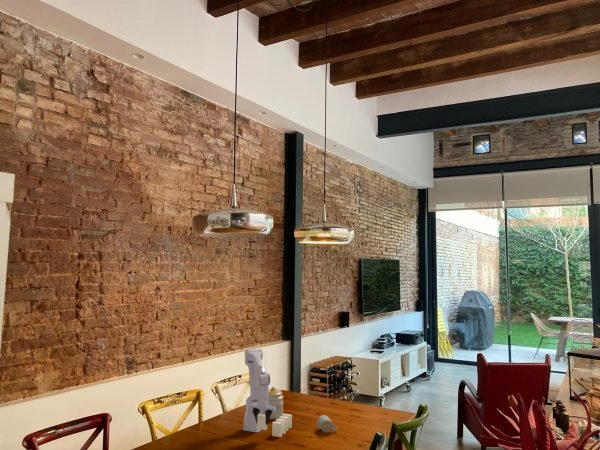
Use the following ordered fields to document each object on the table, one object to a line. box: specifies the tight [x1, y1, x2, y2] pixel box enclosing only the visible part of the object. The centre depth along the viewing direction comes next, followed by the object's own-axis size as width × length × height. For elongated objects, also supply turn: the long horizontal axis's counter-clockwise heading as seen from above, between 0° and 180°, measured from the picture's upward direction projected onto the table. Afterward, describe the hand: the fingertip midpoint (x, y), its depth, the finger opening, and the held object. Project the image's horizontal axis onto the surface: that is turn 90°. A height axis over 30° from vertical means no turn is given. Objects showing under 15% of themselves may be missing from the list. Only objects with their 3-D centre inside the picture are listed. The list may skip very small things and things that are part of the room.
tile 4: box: [271, 421, 283, 438], centre depth 251 cm, size 5×2×7 cm, turn 70°
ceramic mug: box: [316, 414, 338, 434], centre depth 260 cm, size 11×8×8 cm
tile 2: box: [278, 416, 290, 432], centre depth 260 cm, size 5×2×7 cm, turn 70°
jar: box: [262, 386, 284, 420], centre depth 285 cm, size 13×13×18 cm
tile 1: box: [283, 413, 293, 429], centre depth 265 cm, size 5×2×7 cm, turn 70°
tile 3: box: [275, 418, 286, 435], centre depth 255 cm, size 5×2×7 cm, turn 70°
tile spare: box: [257, 414, 268, 431], centre depth 245 cm, size 5×2×7 cm, turn 70°
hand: (262, 423), depth 245 cm, fingers closed on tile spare, 5 cm apart
